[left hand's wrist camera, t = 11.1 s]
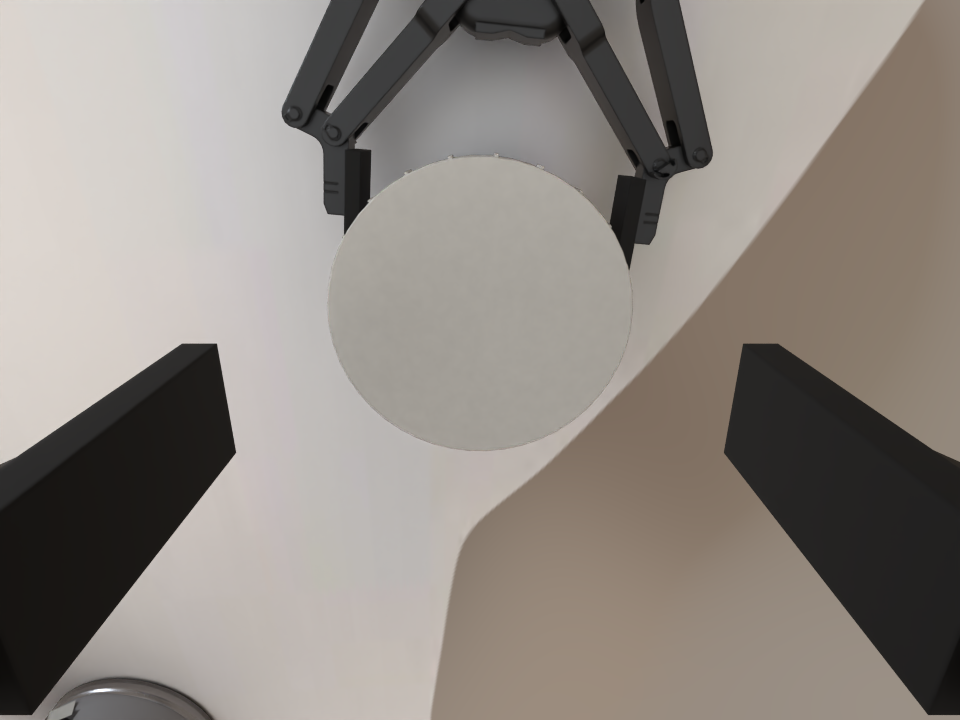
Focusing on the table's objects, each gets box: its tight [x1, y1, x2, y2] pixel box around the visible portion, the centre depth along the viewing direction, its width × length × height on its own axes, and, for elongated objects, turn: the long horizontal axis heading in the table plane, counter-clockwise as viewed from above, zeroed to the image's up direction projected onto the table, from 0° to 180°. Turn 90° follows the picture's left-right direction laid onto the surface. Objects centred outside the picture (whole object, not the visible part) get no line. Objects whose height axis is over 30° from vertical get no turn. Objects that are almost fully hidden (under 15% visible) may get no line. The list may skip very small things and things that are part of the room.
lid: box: [327, 153, 633, 451], centre depth 20 cm, size 10×10×2 cm
